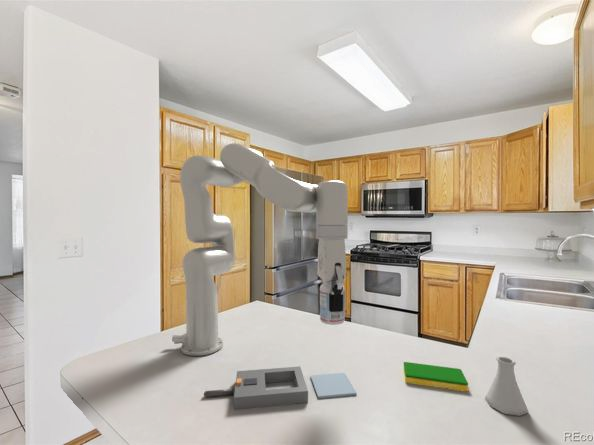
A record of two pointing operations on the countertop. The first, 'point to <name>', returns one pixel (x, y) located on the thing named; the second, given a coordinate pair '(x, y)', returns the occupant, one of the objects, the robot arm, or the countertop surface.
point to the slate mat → (332, 385)
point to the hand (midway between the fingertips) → (332, 306)
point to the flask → (506, 390)
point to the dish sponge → (435, 376)
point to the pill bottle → (325, 314)
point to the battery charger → (254, 391)
